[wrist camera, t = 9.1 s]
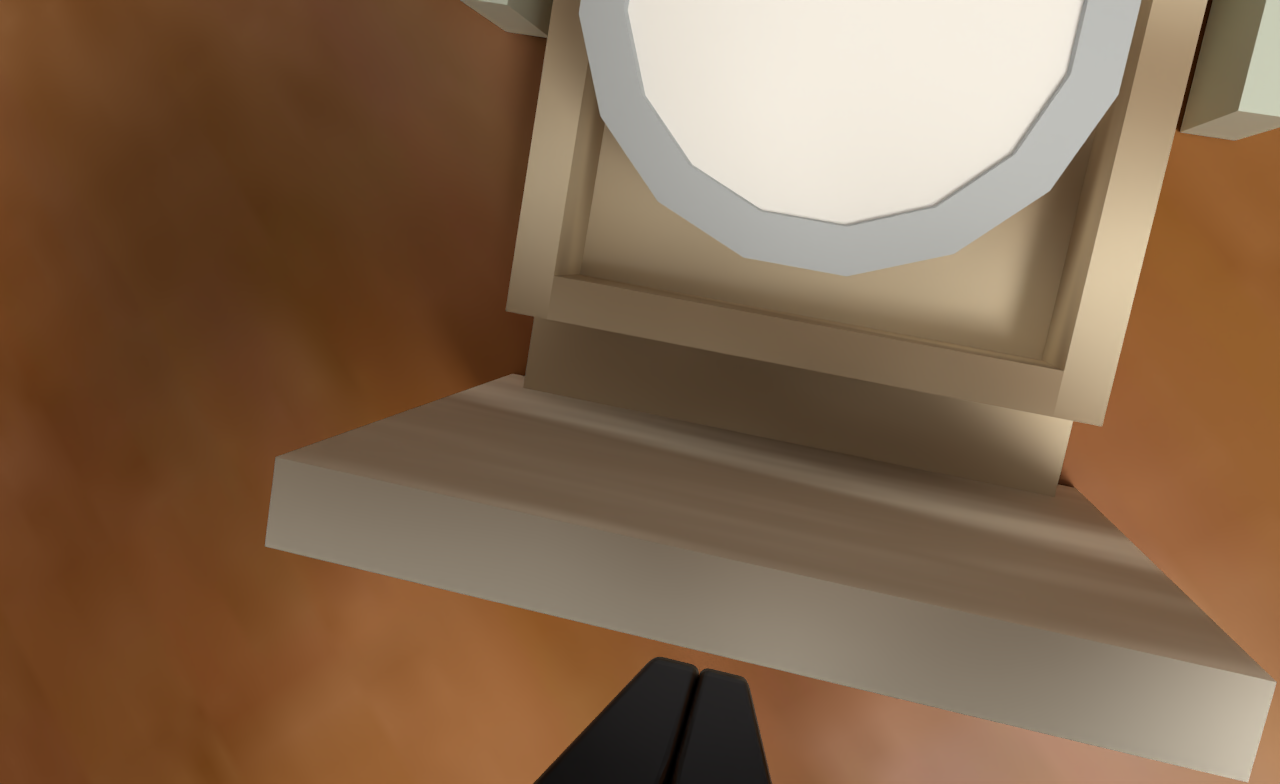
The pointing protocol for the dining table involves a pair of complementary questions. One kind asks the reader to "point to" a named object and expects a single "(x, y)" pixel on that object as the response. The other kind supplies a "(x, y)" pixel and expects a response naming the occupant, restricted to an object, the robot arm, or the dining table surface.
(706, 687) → the robot arm
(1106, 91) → the grey and white tumbler
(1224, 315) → the dining table surface
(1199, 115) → the caddy
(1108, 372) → the drawer
